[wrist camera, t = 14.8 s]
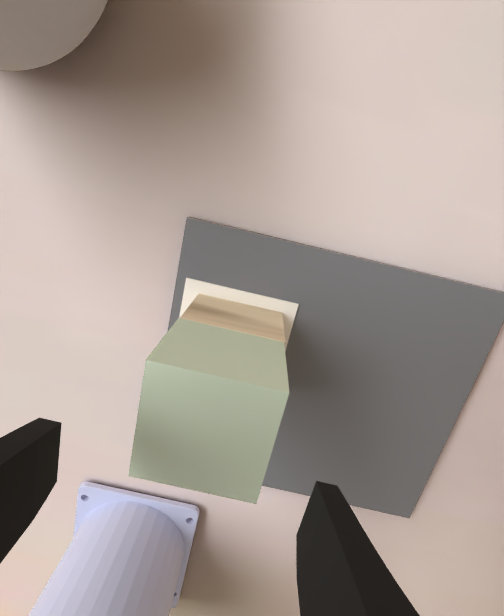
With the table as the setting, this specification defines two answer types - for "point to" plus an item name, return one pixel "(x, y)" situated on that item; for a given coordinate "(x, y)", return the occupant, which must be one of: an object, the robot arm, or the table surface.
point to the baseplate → (351, 357)
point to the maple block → (236, 317)
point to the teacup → (43, 30)
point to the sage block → (210, 410)
